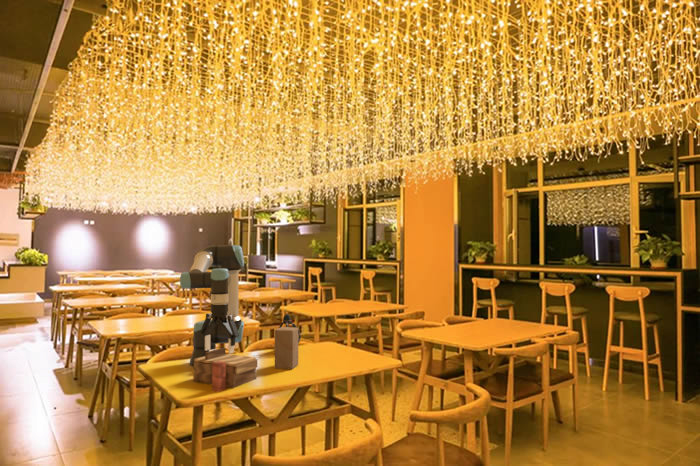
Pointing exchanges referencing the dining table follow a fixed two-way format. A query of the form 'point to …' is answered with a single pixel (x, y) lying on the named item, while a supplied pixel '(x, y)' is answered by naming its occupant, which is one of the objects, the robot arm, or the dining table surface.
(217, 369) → the reddish-brown wooden bar
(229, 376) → the toolbox
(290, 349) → the wooden block
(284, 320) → the teapot
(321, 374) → the dining table surface
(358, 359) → the dining table surface
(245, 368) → the lid
